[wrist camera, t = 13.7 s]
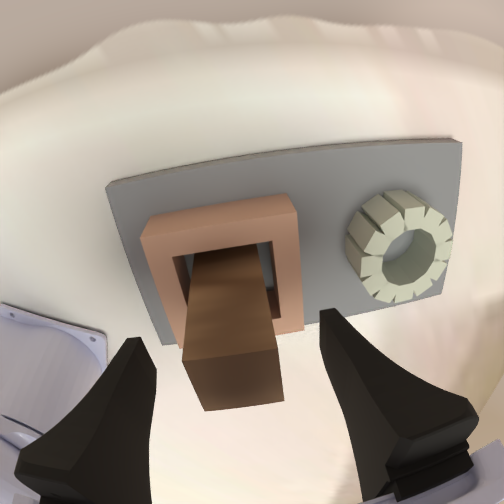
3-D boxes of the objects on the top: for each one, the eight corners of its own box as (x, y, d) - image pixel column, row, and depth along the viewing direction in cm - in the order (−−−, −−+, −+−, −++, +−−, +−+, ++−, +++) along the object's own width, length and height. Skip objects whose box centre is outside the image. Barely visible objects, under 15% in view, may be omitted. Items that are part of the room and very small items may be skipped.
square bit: (207, 294, 19) (204, 411, 12) (195, 246, 17) (182, 361, 10) (262, 286, 19) (284, 400, 12) (255, 237, 17) (277, 348, 10)
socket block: (163, 335, 21) (157, 373, 18) (111, 182, 16) (87, 206, 13) (434, 286, 22) (458, 315, 19) (452, 138, 16) (489, 153, 13)
